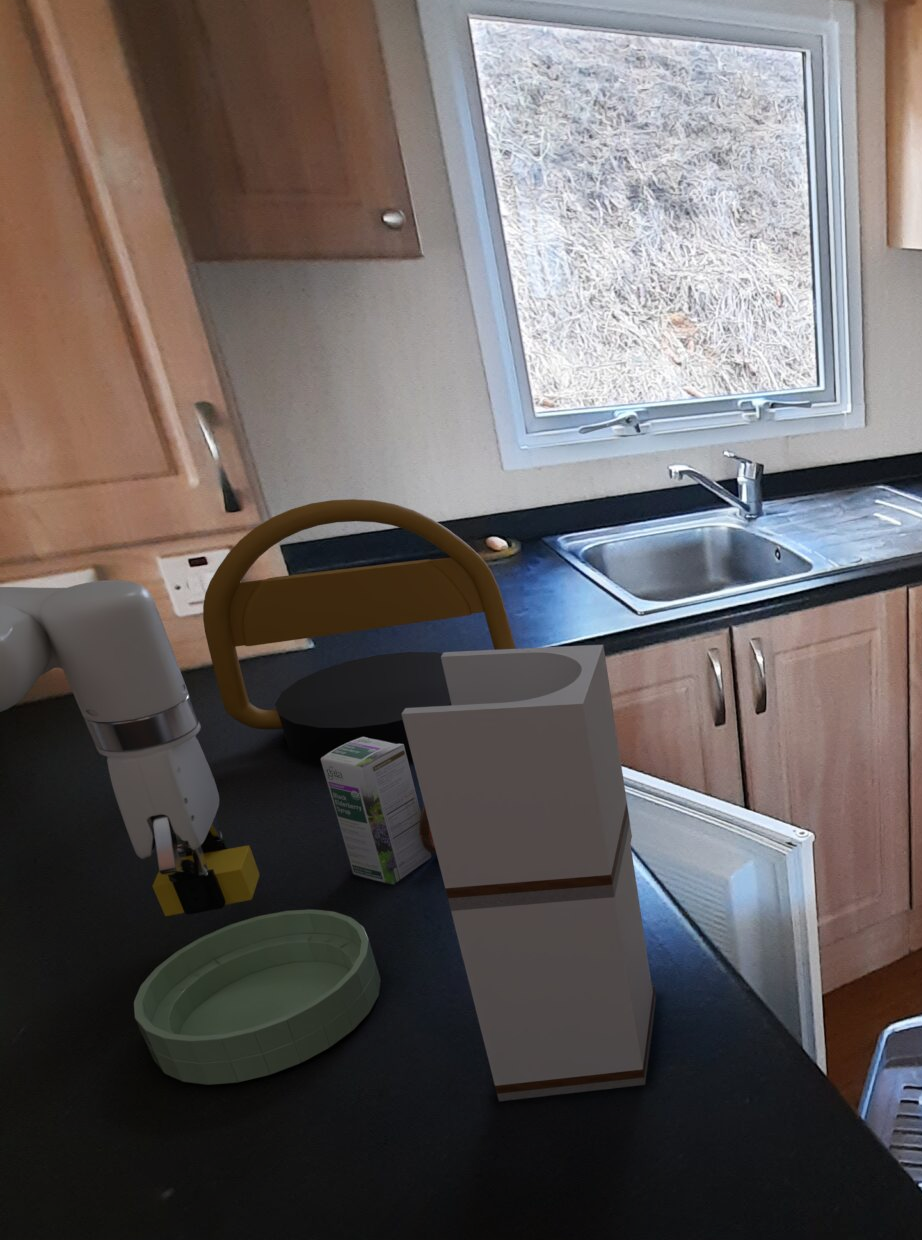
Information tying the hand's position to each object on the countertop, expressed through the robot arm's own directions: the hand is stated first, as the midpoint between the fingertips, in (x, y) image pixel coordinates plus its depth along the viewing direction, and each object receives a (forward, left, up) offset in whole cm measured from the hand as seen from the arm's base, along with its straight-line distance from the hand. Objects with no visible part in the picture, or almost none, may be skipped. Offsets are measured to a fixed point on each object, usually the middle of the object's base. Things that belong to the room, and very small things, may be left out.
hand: (211, 892), depth 100 cm
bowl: (+6, -14, -6) cm, 16 cm away
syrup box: (+14, +8, -6) cm, 17 cm away
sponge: (0, 0, 0) cm, 0 cm away
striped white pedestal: (+31, -28, -6) cm, 42 cm away
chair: (+12, +45, -6) cm, 47 cm away
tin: (+23, +12, -6) cm, 26 cm away
